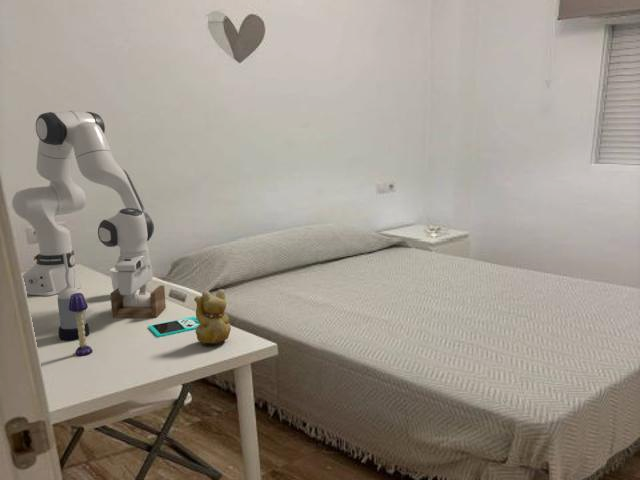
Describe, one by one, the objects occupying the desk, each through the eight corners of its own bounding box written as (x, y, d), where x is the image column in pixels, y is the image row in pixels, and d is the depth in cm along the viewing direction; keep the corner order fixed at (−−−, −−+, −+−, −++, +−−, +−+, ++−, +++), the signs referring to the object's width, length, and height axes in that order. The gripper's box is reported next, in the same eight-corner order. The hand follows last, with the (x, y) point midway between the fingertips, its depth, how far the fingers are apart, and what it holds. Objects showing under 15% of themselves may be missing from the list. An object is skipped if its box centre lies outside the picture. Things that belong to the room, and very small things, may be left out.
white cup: (120, 300, 195) (118, 272, 193) (108, 296, 200) (105, 269, 198) (140, 294, 201) (137, 268, 199) (127, 291, 206) (125, 265, 204)
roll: (123, 312, 179) (120, 299, 177) (129, 304, 184) (126, 291, 182) (152, 313, 179) (150, 300, 177) (157, 305, 183) (155, 292, 181)
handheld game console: (210, 328, 168) (210, 323, 168) (157, 339, 159) (157, 335, 159) (198, 319, 176) (198, 315, 176) (148, 329, 168) (147, 325, 168)
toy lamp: (93, 354, 148) (87, 295, 145) (74, 358, 146) (68, 297, 142) (91, 348, 152) (85, 290, 149) (72, 352, 150) (66, 293, 147)
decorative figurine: (226, 335, 161) (223, 285, 158) (236, 344, 154) (233, 292, 151) (193, 341, 156) (190, 290, 153) (202, 351, 149) (198, 298, 146)
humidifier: (60, 333, 164) (50, 251, 159) (89, 329, 167) (81, 248, 162) (57, 342, 157) (47, 257, 152) (89, 338, 160) (80, 254, 155)
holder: (112, 317, 177) (110, 293, 175) (123, 308, 186) (121, 285, 184) (156, 317, 176) (154, 293, 175) (165, 308, 185) (164, 285, 183)
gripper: (137, 251, 188) (140, 290, 191) (112, 267, 168) (116, 310, 171) (155, 251, 187) (158, 290, 190) (132, 267, 167) (136, 310, 170)
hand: (138, 300), depth 180 cm, fingers open, 6 cm apart
